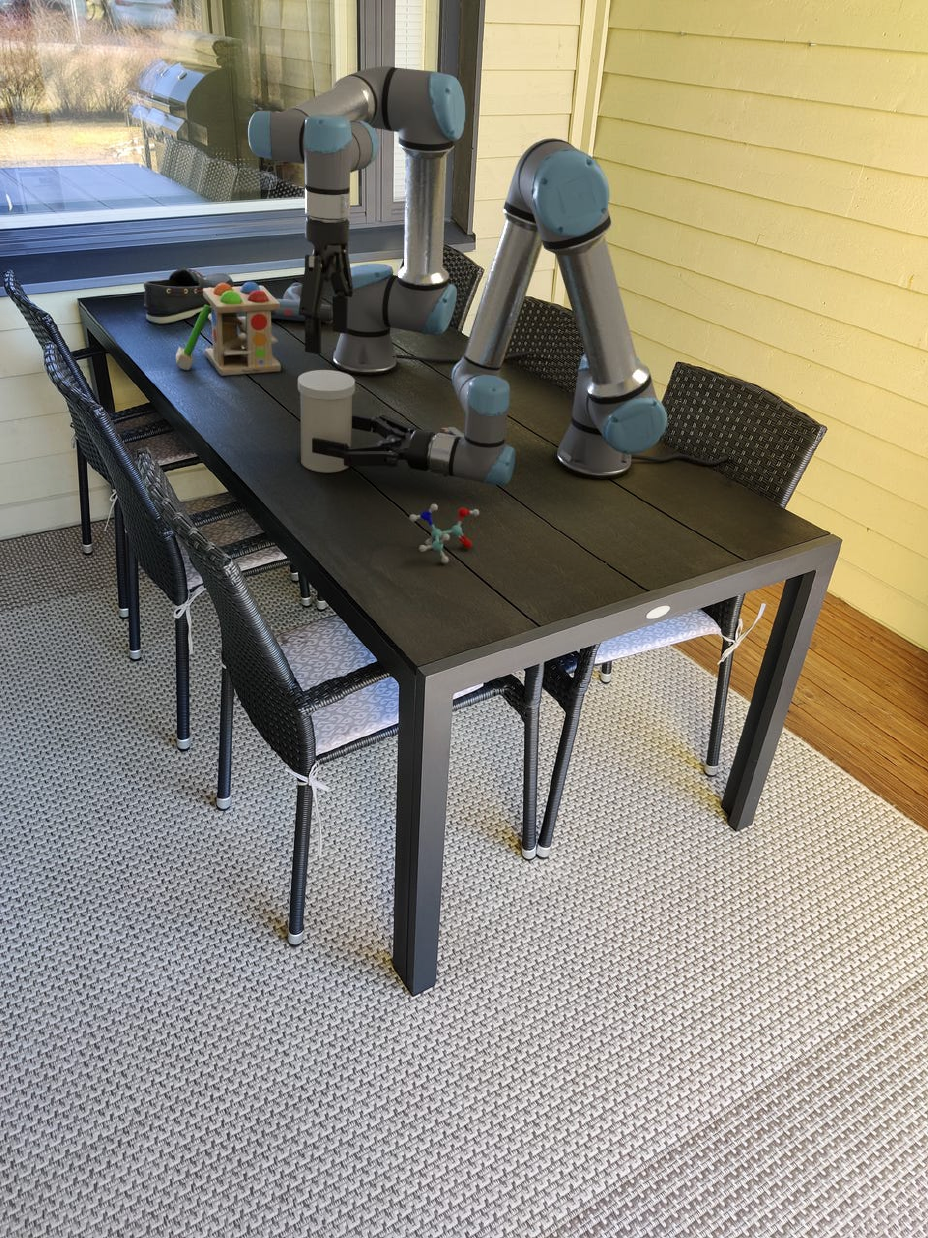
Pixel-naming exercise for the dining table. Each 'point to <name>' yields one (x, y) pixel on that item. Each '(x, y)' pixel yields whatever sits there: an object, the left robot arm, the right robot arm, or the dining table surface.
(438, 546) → the molecular model
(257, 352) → the pounding bench toy
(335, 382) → the lid
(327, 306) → the power drill
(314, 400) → the jar
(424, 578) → the dining table surface
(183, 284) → the boat shoe
